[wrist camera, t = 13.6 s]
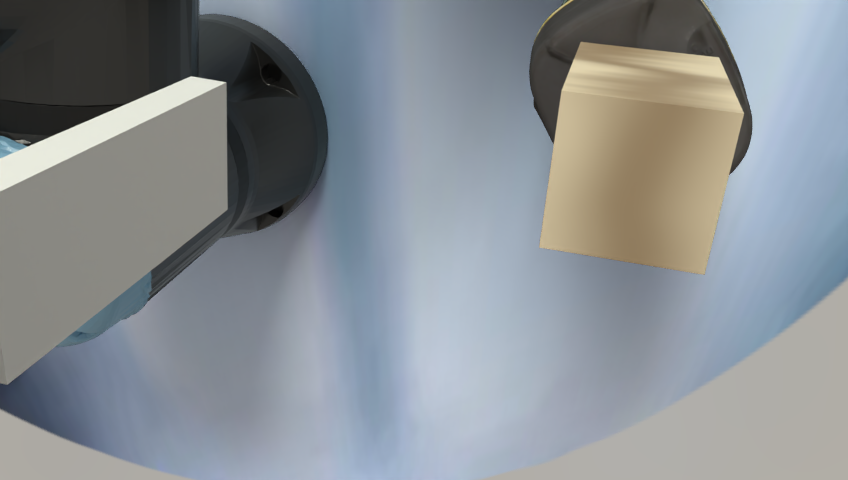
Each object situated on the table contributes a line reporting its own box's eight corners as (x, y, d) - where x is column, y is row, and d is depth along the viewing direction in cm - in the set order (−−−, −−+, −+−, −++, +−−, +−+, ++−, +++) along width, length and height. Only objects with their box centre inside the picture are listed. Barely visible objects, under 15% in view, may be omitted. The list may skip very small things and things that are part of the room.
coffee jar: (739, 76, 46) (792, 182, 30) (613, 134, 49) (597, 258, 33) (671, -78, 44) (687, -57, 27) (543, -7, 47) (489, 50, 31)
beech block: (562, 167, 32) (539, 247, 25) (580, 41, 30) (561, 90, 23) (689, 185, 31) (704, 274, 24) (718, 57, 29) (744, 113, 22)
